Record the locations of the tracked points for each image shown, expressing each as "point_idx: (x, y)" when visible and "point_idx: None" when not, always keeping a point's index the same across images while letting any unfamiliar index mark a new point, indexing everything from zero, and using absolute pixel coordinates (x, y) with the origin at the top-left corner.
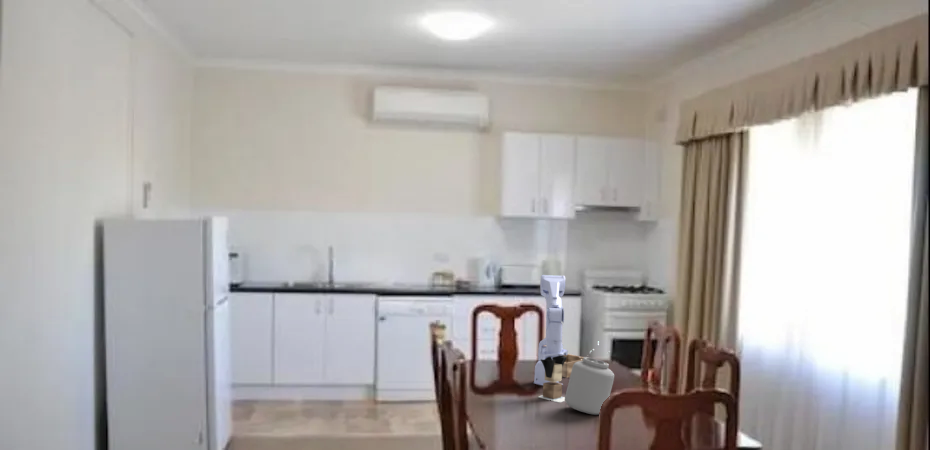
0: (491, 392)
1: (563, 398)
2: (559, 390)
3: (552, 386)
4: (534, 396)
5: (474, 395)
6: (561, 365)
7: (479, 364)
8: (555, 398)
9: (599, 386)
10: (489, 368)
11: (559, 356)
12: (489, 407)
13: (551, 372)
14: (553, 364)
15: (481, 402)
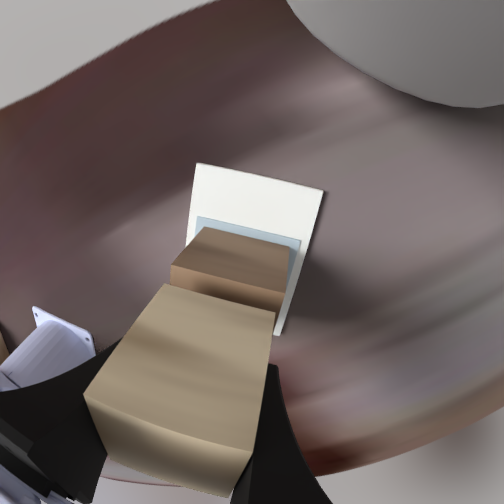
0: (320, 452)
1: (221, 205)
2: (217, 251)
3: (282, 301)
4: (276, 349)
5: (381, 459)
6: (101, 391)
7: (107, 474)
8: (267, 242)
9: None
10: (110, 466)
11: (48, 484)
12: (500, 382)
13: (277, 402)
14: (266, 479)
15: (452, 421)
